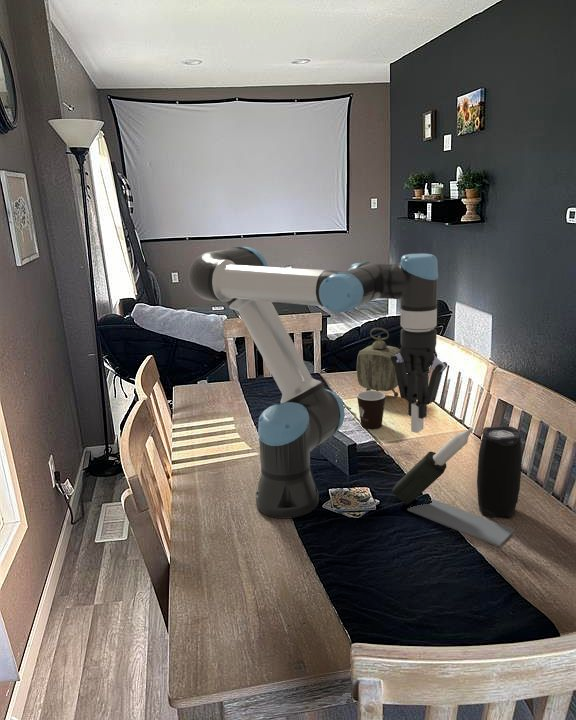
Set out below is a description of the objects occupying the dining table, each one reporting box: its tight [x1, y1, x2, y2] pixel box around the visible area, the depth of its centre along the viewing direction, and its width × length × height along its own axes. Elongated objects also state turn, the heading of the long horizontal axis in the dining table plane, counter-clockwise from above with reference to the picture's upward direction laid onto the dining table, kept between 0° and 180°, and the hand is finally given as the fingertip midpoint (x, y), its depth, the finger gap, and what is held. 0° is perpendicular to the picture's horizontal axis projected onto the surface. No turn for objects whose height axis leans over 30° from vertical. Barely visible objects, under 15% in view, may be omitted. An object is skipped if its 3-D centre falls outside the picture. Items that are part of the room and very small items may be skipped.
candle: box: [391, 427, 474, 504], centre depth 133 cm, size 5×5×25 cm
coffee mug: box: [356, 390, 386, 431], centre depth 183 cm, size 12×9×10 cm
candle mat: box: [407, 498, 516, 548], centre depth 130 cm, size 8×22×1 cm, turn 46°
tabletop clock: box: [356, 327, 401, 397], centre depth 204 cm, size 14×9×25 cm, turn 58°
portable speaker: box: [476, 424, 523, 519], centre depth 131 cm, size 9×9×20 cm
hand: (417, 430), depth 132 cm, fingers closed
